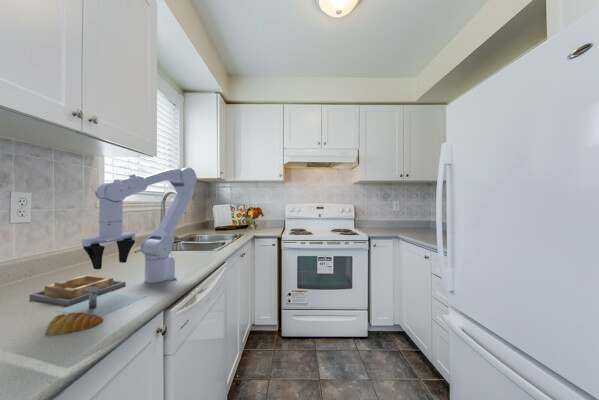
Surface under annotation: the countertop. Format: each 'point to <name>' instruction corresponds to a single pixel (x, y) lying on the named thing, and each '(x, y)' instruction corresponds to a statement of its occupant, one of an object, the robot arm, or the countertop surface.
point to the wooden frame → (77, 286)
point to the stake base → (103, 303)
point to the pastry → (72, 323)
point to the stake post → (92, 296)
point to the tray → (67, 302)
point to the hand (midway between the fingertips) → (110, 265)
